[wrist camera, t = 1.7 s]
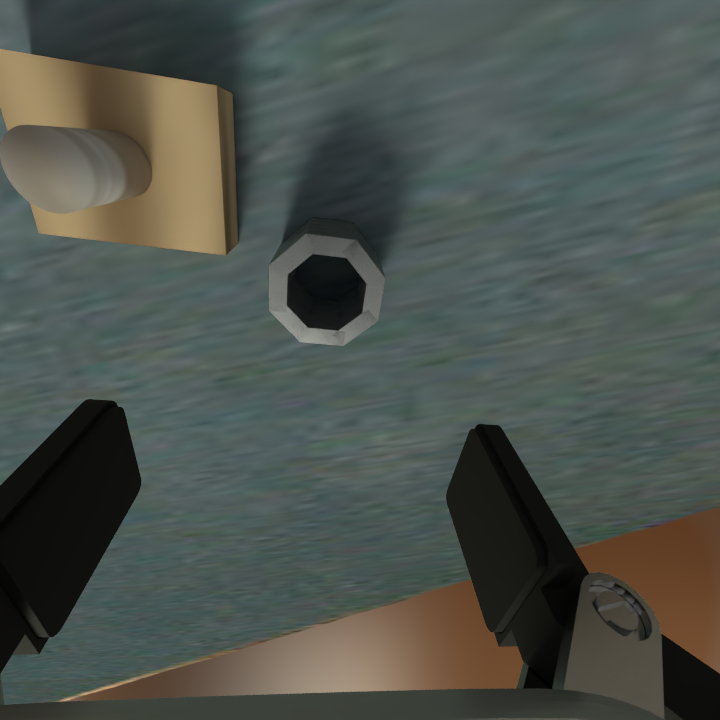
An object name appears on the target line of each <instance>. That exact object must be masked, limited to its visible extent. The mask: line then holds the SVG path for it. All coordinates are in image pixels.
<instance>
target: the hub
mask: <svg viewBox="0 0 720 720" xmlns="http://www.w3.org/2000/svg"><path fill="white" fill-rule="evenodd" d="M312 254H317V255H326V256H334V257H342V258H347V259H348V260H349V262H350V263H351V264H352V266H353V267H354V268H355V269H356V271H357V272H358V273H359V274H360V275H359V283H358V286H356V287H355V288H354V289H352V290H351V291H350V292H348V293H347V294H346V295H344V296H343V297H342V298H340V299H339V300H331V299H322V298H313V297H312V296H311V295H310V294H309V293H308V291H307V290H306V289H305V288H304V287H303V286H302V285H301V284H300V283H299V281H298V280H297V279H296V267H298V266H299V265H300V264H301V263H302V262H304V261H305V260H306V259H307V258H308V257H310V256H311V255H312ZM384 283H385V276H384V273H383V270H382V267H381V264H380V262H379V259H378V256H377V255H376V253H375V252H374V251H373V249H372V248H371V246H370V245H369V244H368V242H367V241H366V240H365V238H364V237H363V236H362V234H361V233H360V232H359V230H358V229H357V227H356V226H355V225H354V223H351V222H343V221H336V220H328V219H320V218H313V217H312V218H311V219H310V220H308V221H307V222H306V223H305V224H304V225H303V226H301V227H300V228H299V229H298V230H297V231H296V232H294V233H293V234H292V235H291V236H290V237H289V238H288V239H286V240H285V241H284V242H283V243H281V245H280V247H279V249H278V250H277V252H276V254H275V255H274V257H273V259H272V261H271V262H270V264H269V311H270V312H271V313H272V314H273V315H274V316H275V317H276V318H277V319H278V320H279V321H280V322H281V323H282V324H283V325H284V326H285V327H286V328H287V329H288V330H289V331H290V332H291V333H292V334H293V335H294V336H295V337H296V338H297V339H298V340H299V341H300V342H306V343H317V344H328V345H339V346H344V345H345V344H347V343H348V342H349V341H351V340H352V339H354V338H355V337H357V336H358V335H359V334H361V333H362V332H364V331H365V330H366V329H368V328H369V327H371V326H372V325H373V324H375V323H376V322H378V318H379V312H380V306H381V300H382V295H383V289H384Z"/></svg>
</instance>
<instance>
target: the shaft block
mask: <svg viewBox="0 0 720 720" xmlns="http://www.w3.org/2000/svg"><path fill="white" fill-rule="evenodd" d="M0 107H1V111H2V114H3V117H4V120H5V124H6V127H7V130H8V132H7V133H6V134H5V135H4V137H3V138H2V141H1V145H0V159H1V163H2V167H3V169H4V172H5V174H6V176H7V178H8V179H9V181H10V182H11V184H12V185H13V186H14V188H15V189H16V190H17V191H18V192H19V193H20V194H21V195H22V196H23V197H24V198H25V199H26V200H28V201H29V202H30V205H31V208H32V211H33V215H34V218H35V221H36V224H37V228H38V231H39V233H40V234H49V235H57V236H66V237H74V238H83V239H92V240H100V241H109V242H117V243H126V244H134V245H143V246H151V247H160V248H169V249H177V250H186V251H194V252H203V253H211V254H220V255H227V254H228V253H229V252H230V251H231V250H232V249H233V248H234V247H235V246H236V245H237V244H238V223H237V196H236V169H235V143H234V116H233V93H231V92H229V91H227V90H225V89H223V88H221V87H219V86H217V85H211V84H205V83H199V82H193V81H187V80H181V79H175V78H169V77H163V76H158V75H152V74H146V73H140V72H134V71H128V70H122V69H116V68H110V67H104V66H98V65H92V64H86V63H80V62H74V61H69V60H63V59H57V58H51V57H45V56H39V55H33V54H27V53H21V52H15V51H9V50H3V49H0Z"/></svg>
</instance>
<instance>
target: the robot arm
mask: <svg viewBox="0 0 720 720" xmlns="http://www.w3.org/2000/svg"><path fill="white" fill-rule="evenodd" d="M140 486H141V477H140V473H139V469H138V465H137V461H136V456H135V452H134V448H133V444H132V440H131V436H130V432H129V428H128V424H127V420H126V416H125V412H124V409H123V408H122V407H118V406H117V403H116V402H115V401H108V400H93V399H88V400H85V401H84V402H83V403H82V404H81V405H80V406H79V407H78V408H77V409H76V410H75V411H74V412H73V413H72V414H71V415H70V416H69V417H68V418H67V419H66V420H65V421H64V422H63V423H62V424H61V425H60V426H59V427H58V428H57V429H56V430H55V431H54V432H53V433H52V434H51V435H50V436H49V437H48V438H47V439H46V440H45V441H44V442H43V443H42V444H41V445H40V446H39V447H38V448H37V449H36V450H35V451H34V452H33V453H32V454H31V455H30V456H29V457H28V458H27V459H26V460H25V461H24V462H23V463H22V464H21V465H20V466H19V467H18V468H17V469H16V470H15V471H14V472H13V473H12V474H11V475H10V476H9V477H8V478H7V479H6V480H5V481H4V482H3V483H2V484H1V485H0V720H720V674H719V673H717V672H716V671H715V670H713V669H712V668H710V667H709V666H708V665H706V664H704V663H703V662H702V661H700V660H699V659H697V658H696V657H695V656H693V655H691V654H690V653H689V652H687V651H685V650H684V649H683V648H681V647H680V646H679V645H677V644H675V643H674V642H673V641H671V640H670V639H668V638H667V637H666V636H664V635H663V634H661V630H660V626H659V622H658V620H657V618H656V616H655V614H654V612H653V610H652V609H651V608H650V607H649V605H648V604H647V603H646V601H645V600H644V599H643V598H642V597H641V596H640V595H639V594H638V593H637V592H636V591H635V590H634V589H633V588H632V587H630V586H629V585H627V584H626V583H624V582H623V581H621V580H620V579H618V578H616V577H614V576H611V575H609V574H605V573H599V572H597V573H590V574H589V573H588V571H587V569H586V568H585V566H584V564H583V563H582V561H581V559H580V558H579V556H578V554H577V553H576V551H575V549H574V548H573V546H572V544H571V543H570V541H569V539H568V538H567V536H566V534H565V533H564V531H563V529H562V528H561V526H560V524H559V523H558V521H557V519H556V518H555V516H554V514H553V513H552V511H551V509H550V508H549V506H548V504H547V503H546V501H545V499H544V498H543V496H542V495H541V493H540V491H539V490H538V488H537V486H536V485H535V483H534V481H533V480H532V478H531V476H530V475H529V473H528V471H527V470H526V468H525V466H524V465H523V463H522V461H521V460H520V458H519V456H518V455H517V453H516V451H515V450H514V448H513V447H512V445H511V443H510V442H509V440H508V438H507V437H506V435H505V433H504V432H503V430H502V428H501V427H500V426H498V425H485V424H478V425H477V426H476V427H475V429H471V430H470V431H469V434H468V436H467V439H466V442H465V444H464V447H463V450H462V452H461V455H460V458H459V460H458V463H457V466H456V468H455V471H454V474H453V476H452V479H451V482H450V484H449V487H448V490H447V494H446V499H447V505H448V508H449V511H450V514H451V517H452V520H453V523H454V527H455V530H456V533H457V536H458V539H459V542H460V545H461V548H462V551H463V555H464V558H465V561H466V564H467V567H468V570H469V573H470V576H471V580H472V583H473V586H474V589H475V592H476V595H477V598H478V601H479V604H480V608H481V611H482V614H483V617H484V620H485V623H486V626H487V627H488V629H489V630H490V631H491V632H494V633H495V636H496V639H497V642H498V645H499V646H518V649H519V651H520V654H521V657H522V659H523V661H524V662H523V666H522V670H521V674H520V677H519V681H518V685H517V689H446V690H410V691H409V690H408V691H372V692H371V691H370V692H335V693H305V694H304V693H303V694H272V695H271V694H270V695H240V696H211V697H210V696H208V697H183V698H182V697H180V698H154V699H153V698H152V699H126V700H100V701H99V700H98V701H71V702H48V703H30V704H12V705H4V698H3V689H2V680H1V671H2V670H3V668H4V667H5V665H6V664H7V662H8V660H9V659H10V657H11V656H12V655H21V654H40V652H41V650H42V649H43V647H44V645H45V643H46V642H47V640H48V638H49V637H54V636H55V635H56V634H57V633H58V632H59V631H60V630H61V628H62V627H63V625H64V623H65V621H66V620H67V618H68V616H69V614H70V613H71V611H72V609H73V607H74V606H75V604H76V602H77V600H78V599H79V597H80V595H81V593H82V591H83V590H84V588H85V586H86V584H87V583H88V581H89V579H90V577H91V576H92V574H93V572H94V570H95V569H96V567H97V565H98V563H99V562H100V560H101V558H102V556H103V554H104V553H105V551H106V549H107V547H108V546H109V544H110V542H111V540H112V539H113V537H114V535H115V533H116V532H117V530H118V528H119V526H120V524H121V523H122V521H123V519H124V517H125V516H126V514H127V512H128V510H129V509H130V507H131V505H132V503H133V502H134V500H135V498H136V496H137V494H138V492H139V490H140Z"/></svg>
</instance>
